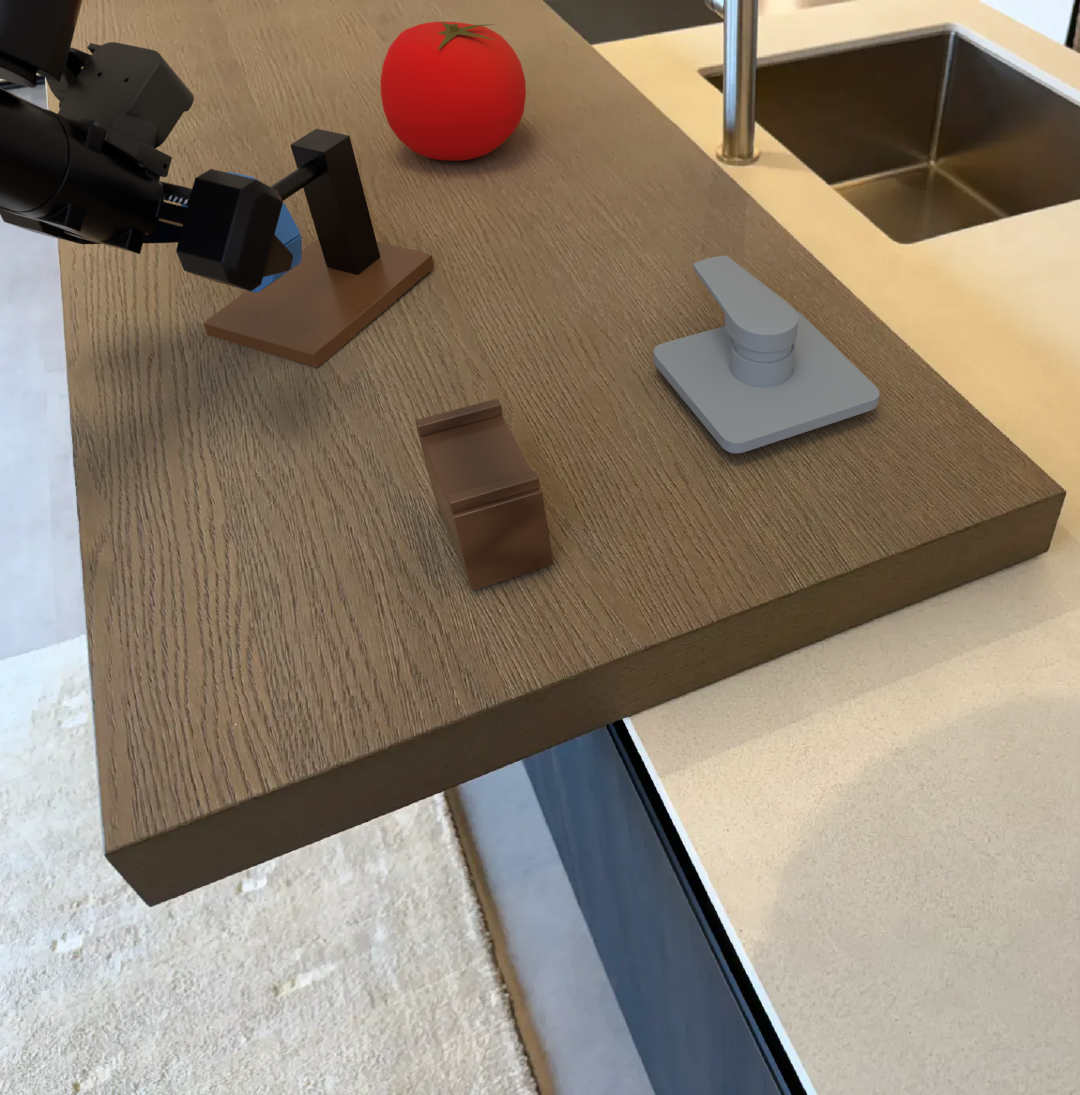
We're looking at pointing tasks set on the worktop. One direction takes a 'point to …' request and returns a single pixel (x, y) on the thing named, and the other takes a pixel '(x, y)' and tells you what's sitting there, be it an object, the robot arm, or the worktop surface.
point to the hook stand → (323, 265)
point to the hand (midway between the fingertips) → (235, 248)
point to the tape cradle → (485, 493)
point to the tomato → (452, 90)
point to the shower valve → (760, 366)
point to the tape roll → (289, 238)
